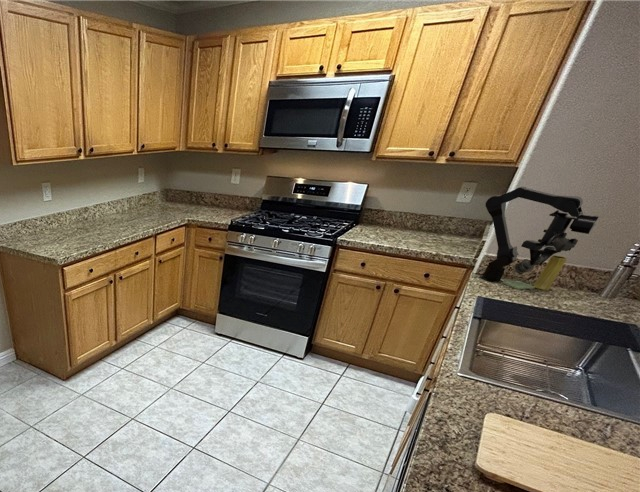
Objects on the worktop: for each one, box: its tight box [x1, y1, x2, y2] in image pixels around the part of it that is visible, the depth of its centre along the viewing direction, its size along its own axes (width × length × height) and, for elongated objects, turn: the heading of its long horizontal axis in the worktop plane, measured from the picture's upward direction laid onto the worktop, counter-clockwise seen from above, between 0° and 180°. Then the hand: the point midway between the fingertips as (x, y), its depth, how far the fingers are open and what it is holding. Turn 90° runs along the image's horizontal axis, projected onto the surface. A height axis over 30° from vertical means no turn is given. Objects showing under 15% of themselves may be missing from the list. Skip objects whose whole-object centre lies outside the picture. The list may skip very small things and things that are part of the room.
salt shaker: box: [514, 255, 548, 275], centre depth 185 cm, size 6×6×12 cm
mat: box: [501, 280, 536, 290], centre depth 192 cm, size 8×9×1 cm
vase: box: [532, 254, 568, 291], centre depth 187 cm, size 6×6×14 cm
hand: (535, 264), depth 184 cm, fingers closed on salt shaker, 3 cm apart
